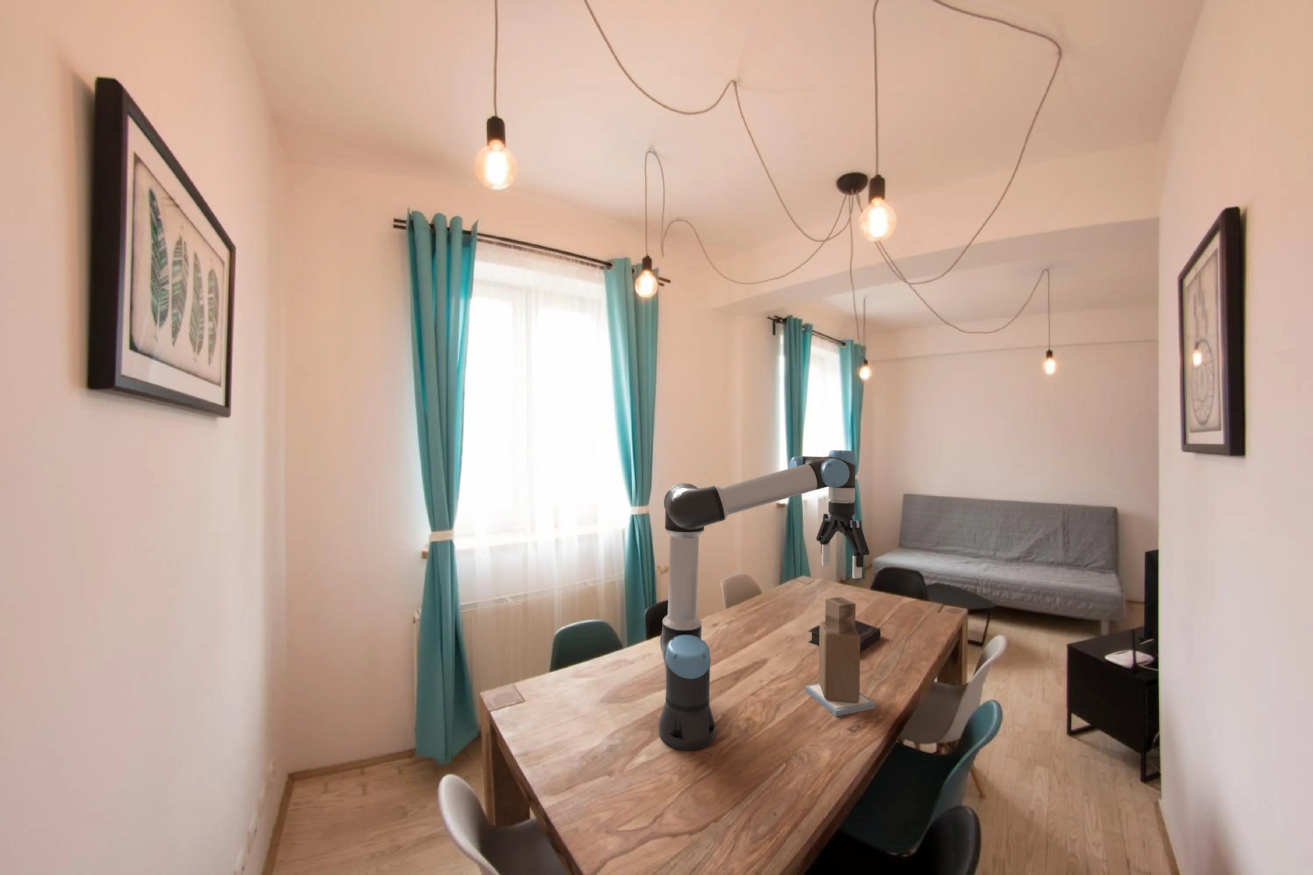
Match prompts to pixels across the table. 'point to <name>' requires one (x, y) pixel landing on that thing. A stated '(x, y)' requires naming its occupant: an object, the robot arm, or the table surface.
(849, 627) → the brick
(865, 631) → the diary
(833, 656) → the block
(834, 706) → the board
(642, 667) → the table surface
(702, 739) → the robot arm
